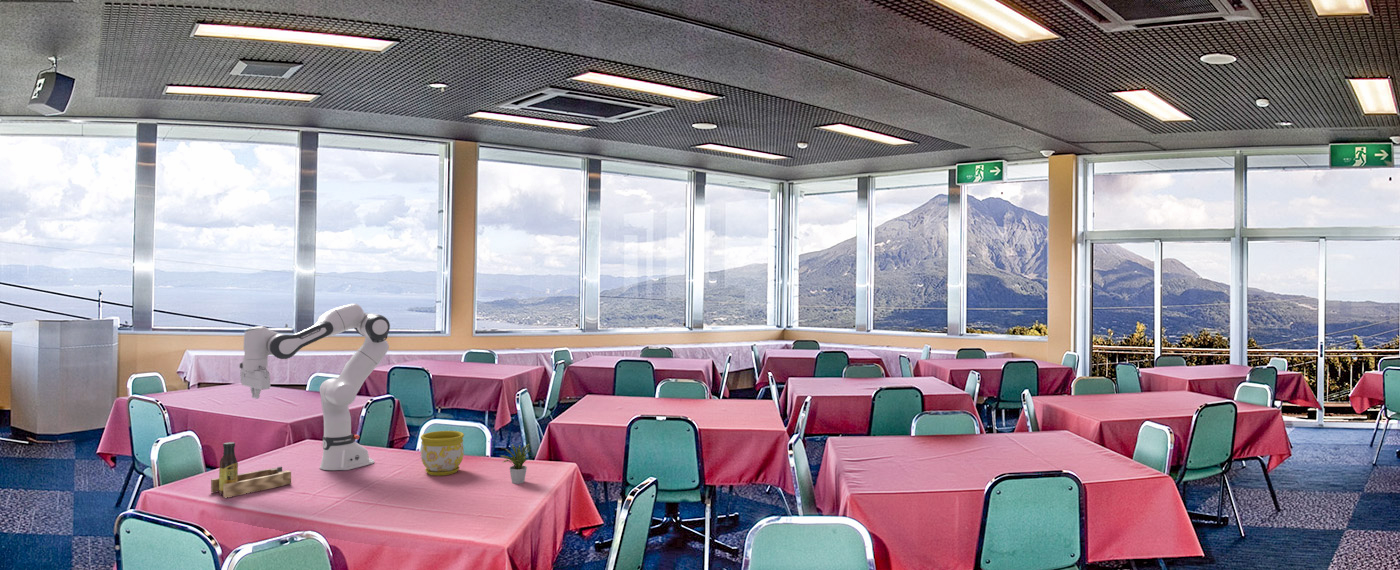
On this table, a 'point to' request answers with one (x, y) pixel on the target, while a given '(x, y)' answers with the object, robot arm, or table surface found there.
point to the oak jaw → (256, 484)
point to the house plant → (517, 464)
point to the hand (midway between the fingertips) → (255, 398)
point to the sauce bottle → (228, 466)
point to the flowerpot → (442, 452)
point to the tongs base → (247, 476)
